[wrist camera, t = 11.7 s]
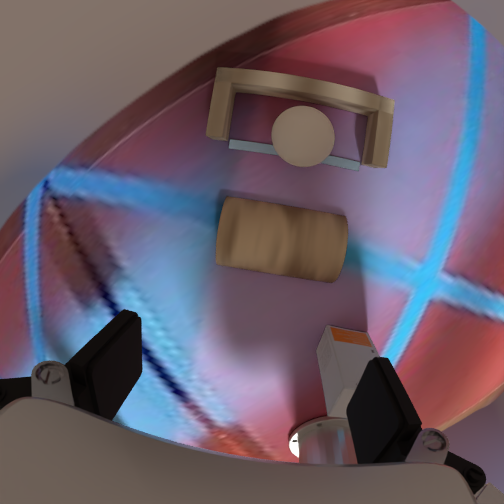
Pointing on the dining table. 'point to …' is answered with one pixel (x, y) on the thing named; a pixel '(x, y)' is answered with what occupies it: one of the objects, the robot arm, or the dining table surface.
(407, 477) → the robot arm
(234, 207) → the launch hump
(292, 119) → the ball
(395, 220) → the dining table surface
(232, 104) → the rail
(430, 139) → the dining table surface
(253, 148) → the tape line
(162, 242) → the dining table surface
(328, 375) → the skincare box
